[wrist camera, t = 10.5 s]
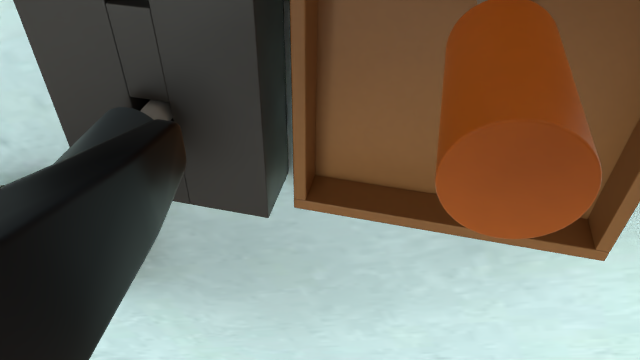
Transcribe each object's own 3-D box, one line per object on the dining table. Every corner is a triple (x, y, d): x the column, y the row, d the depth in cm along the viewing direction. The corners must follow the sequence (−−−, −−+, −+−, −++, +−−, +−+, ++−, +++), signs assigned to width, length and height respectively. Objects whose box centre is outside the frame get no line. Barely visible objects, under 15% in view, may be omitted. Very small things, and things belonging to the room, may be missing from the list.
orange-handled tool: (526, 32, 19) (569, 251, 10) (443, 23, 19) (424, 226, 11) (552, -54, 17) (631, 133, 8) (459, -62, 17) (450, 108, 9)
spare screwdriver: (220, 109, 25) (98, 283, 17) (164, 101, 25) (18, 267, 17) (213, 53, 23) (70, 220, 15) (152, 45, 23) (-19, 203, 15)
